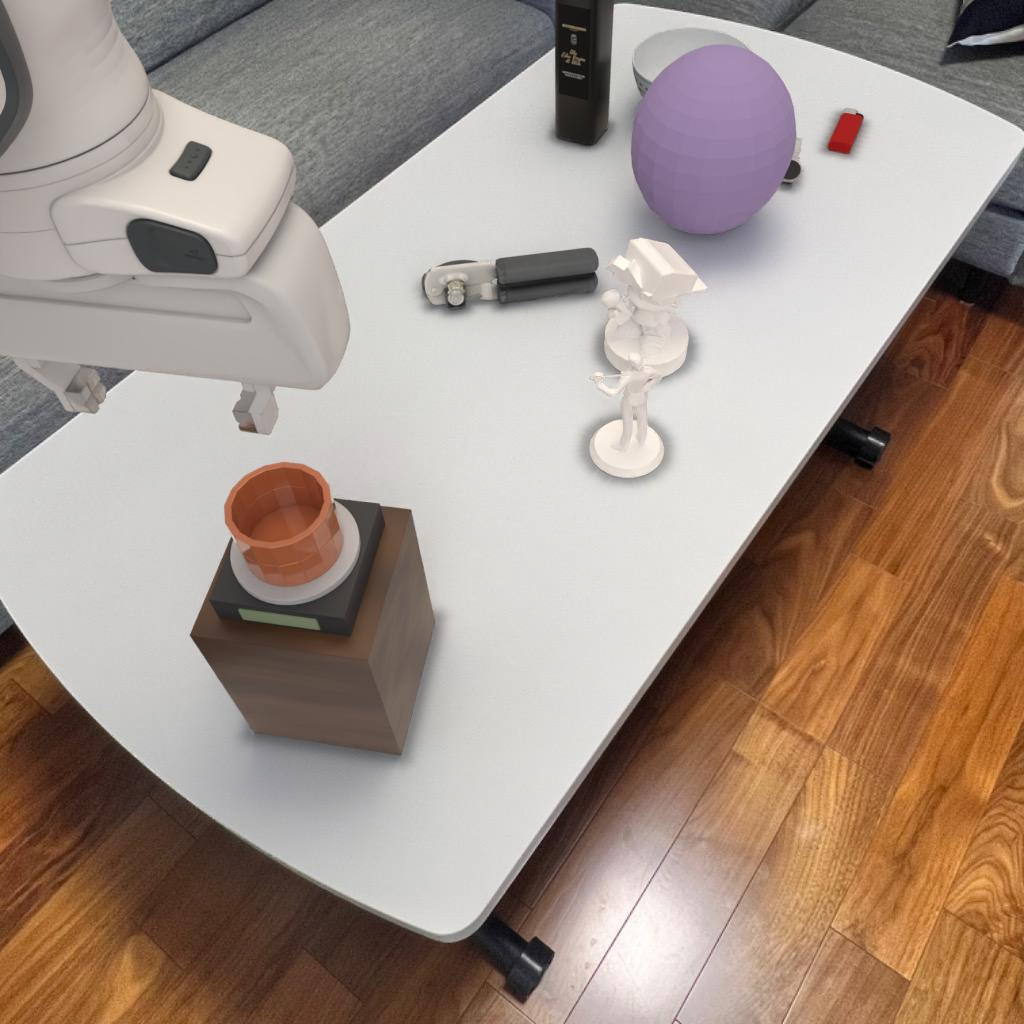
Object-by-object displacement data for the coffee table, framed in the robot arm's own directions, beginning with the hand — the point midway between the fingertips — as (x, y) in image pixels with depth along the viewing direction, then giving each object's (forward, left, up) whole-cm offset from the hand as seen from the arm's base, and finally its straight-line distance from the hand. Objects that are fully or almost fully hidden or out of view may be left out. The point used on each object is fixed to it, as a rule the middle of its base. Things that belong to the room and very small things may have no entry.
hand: (173, 413), depth 48 cm
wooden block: (+2, -2, -34) cm, 34 cm away
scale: (+2, -2, -18) cm, 18 cm away
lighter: (+84, -44, -34) cm, 101 cm away
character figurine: (+43, -23, -34) cm, 60 cm away
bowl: (+2, -2, -15) cm, 15 cm away
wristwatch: (+74, -37, -34) cm, 90 cm away
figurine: (+29, -22, -34) cm, 50 cm away
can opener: (+50, -7, -34) cm, 61 cm away
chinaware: (+86, -24, -34) cm, 96 cm away
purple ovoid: (+64, -27, -34) cm, 78 cm away
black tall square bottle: (+81, -11, -34) cm, 89 cm away
